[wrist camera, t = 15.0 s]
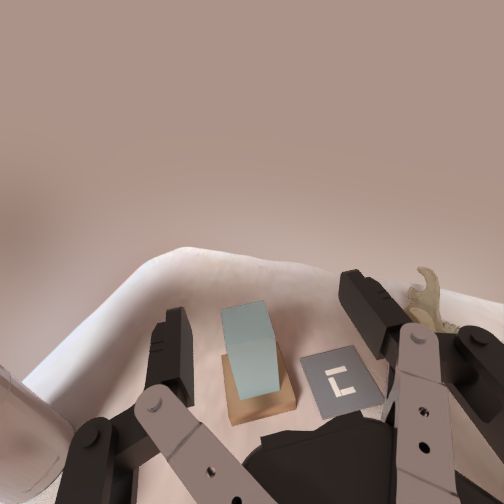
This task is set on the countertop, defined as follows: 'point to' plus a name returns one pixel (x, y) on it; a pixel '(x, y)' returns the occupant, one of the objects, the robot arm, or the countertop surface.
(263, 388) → the block
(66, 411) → the countertop surface
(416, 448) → the robot arm
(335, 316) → the countertop surface
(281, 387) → the stand
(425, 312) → the jawbone
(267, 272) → the countertop surface
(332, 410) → the gray tile
